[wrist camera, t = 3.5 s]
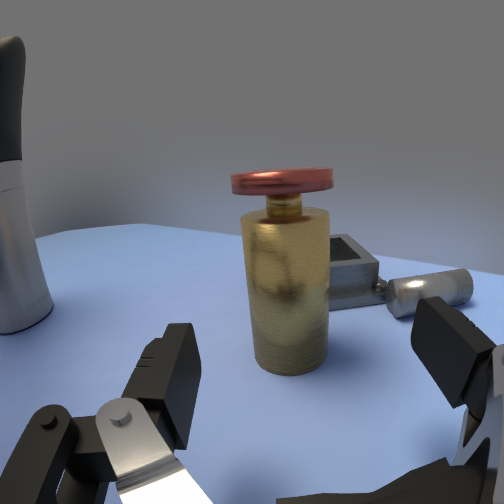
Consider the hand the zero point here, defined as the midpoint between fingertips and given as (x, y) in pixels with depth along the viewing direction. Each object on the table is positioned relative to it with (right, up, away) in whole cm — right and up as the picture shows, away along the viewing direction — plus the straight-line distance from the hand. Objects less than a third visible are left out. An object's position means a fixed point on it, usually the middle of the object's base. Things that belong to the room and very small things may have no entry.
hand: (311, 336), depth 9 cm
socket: (+5, 0, +20) cm, 21 cm away
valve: (+1, -4, +10) cm, 11 cm away
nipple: (+13, +1, +13) cm, 19 cm away
